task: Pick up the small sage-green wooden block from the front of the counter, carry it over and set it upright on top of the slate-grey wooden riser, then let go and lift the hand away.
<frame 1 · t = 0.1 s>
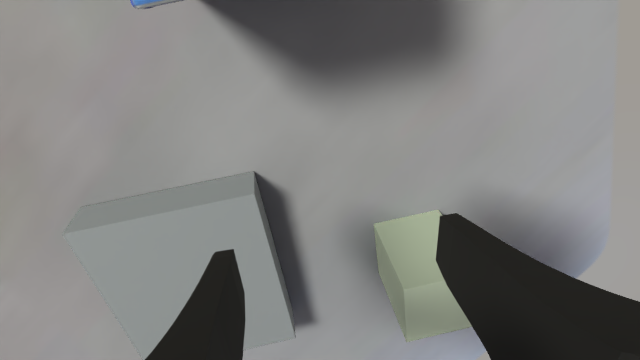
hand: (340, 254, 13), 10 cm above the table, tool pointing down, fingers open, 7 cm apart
riser: (200, 265, 25), on the table
green block: (407, 241, 27), on the table
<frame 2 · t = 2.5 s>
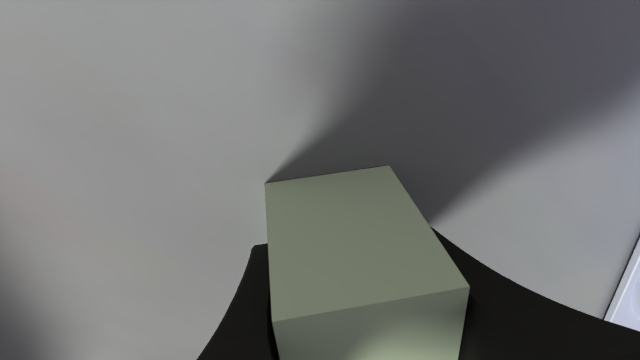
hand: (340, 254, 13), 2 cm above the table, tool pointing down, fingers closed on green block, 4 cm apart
green block: (331, 224, 15), on the table, touching gripper
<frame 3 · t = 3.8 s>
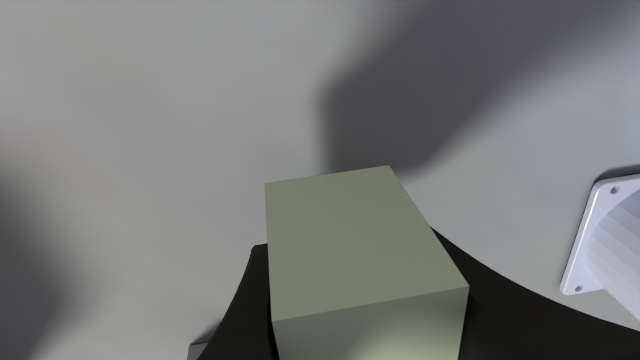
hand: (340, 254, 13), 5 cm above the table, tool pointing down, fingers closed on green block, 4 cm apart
green block: (331, 224, 15), point 3 cm above the table, touching gripper
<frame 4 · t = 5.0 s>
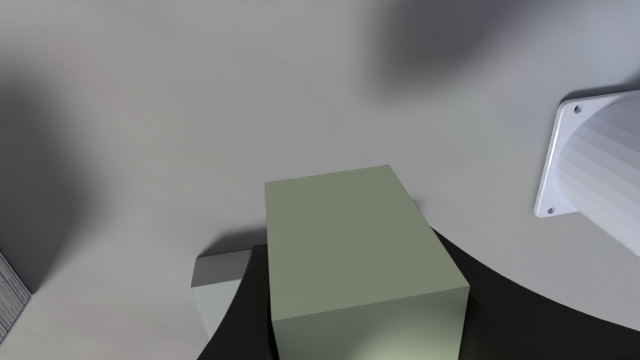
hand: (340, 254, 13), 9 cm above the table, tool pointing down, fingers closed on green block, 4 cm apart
riser: (302, 297, 26), on the table
green block: (331, 224, 15), point 7 cm above the table, touching gripper
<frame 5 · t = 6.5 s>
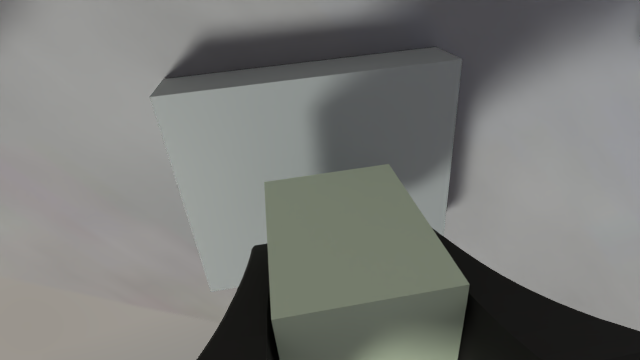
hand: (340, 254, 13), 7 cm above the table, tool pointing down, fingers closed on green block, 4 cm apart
riser: (314, 163, 19), on the table
green block: (331, 223, 15), point 5 cm above the table, touching gripper
when the fingers open (5 cm above the table, at t = 7.7 s): green block stays where it is, resting on riser.
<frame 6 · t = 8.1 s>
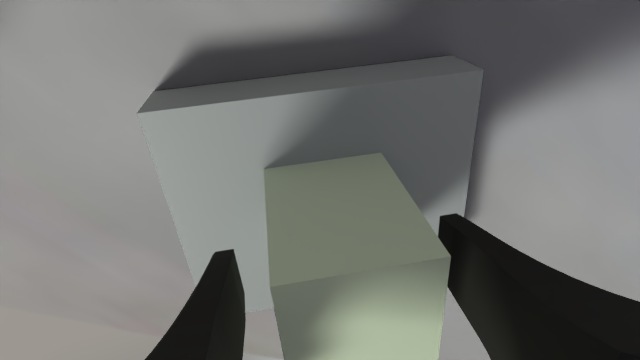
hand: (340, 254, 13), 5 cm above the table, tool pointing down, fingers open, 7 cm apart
riser: (318, 180, 18), on the table
green block: (327, 209, 16), point 2 cm above the table, touching riser
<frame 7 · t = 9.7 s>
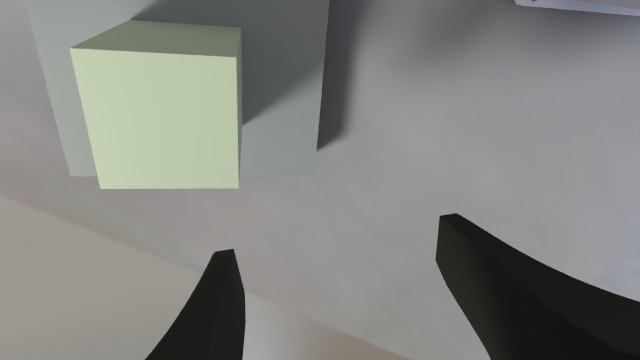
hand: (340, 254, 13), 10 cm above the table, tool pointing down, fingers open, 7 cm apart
riser: (197, 65, 19), on the table
green block: (190, 77, 17), point 2 cm above the table, touching riser
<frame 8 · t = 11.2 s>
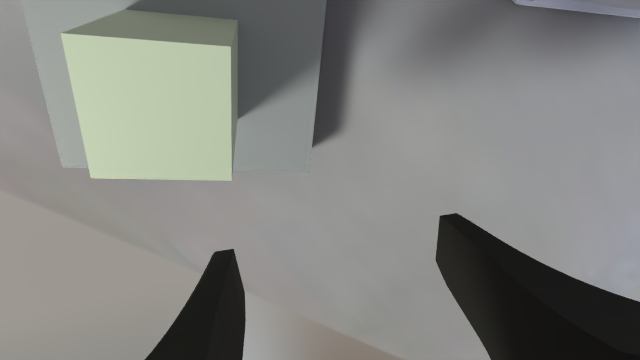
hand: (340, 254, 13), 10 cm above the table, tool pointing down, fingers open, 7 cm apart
riser: (193, 58, 19), on the table
green block: (185, 69, 17), point 2 cm above the table, touching riser
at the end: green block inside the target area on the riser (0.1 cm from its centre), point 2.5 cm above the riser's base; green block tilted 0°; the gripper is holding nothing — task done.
